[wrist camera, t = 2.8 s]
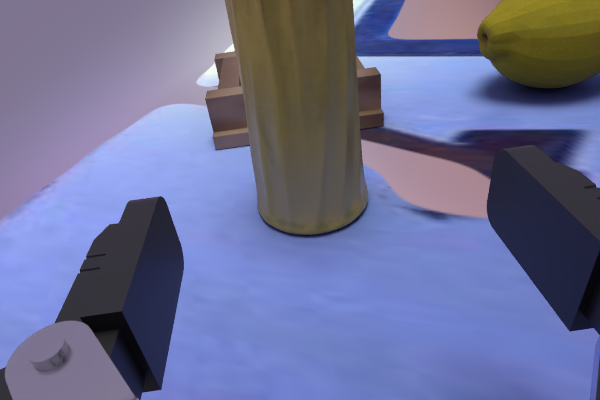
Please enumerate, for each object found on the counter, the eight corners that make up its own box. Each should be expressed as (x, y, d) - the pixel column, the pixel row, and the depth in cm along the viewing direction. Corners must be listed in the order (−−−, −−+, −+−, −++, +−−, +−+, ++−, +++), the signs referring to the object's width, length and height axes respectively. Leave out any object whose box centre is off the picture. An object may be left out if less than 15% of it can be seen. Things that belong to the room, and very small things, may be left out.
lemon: (586, 62, 37) (614, -47, 32) (646, 97, 30) (693, -32, 26) (454, 76, 37) (463, -29, 33) (486, 114, 31) (503, -9, 26)
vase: (243, 233, 23) (165, -95, 15) (275, 171, 28) (229, -102, 19) (361, 241, 21) (346, -120, 13) (373, 174, 26) (367, -121, 18)
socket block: (351, 71, 41) (350, 32, 39) (383, 125, 31) (383, 77, 29) (224, 89, 41) (216, 51, 39) (215, 149, 31) (204, 103, 29)
